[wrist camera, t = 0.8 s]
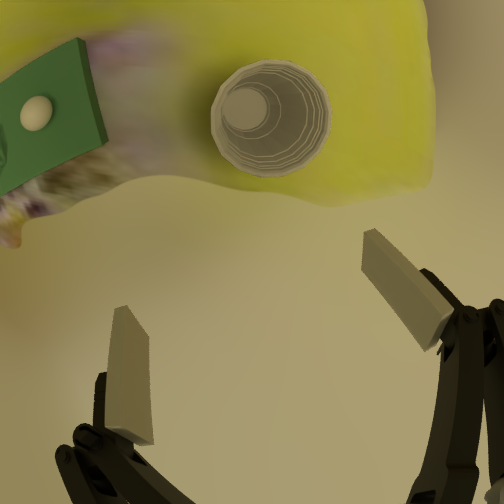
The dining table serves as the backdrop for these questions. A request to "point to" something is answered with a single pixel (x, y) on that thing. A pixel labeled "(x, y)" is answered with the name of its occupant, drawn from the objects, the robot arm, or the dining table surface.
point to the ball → (36, 113)
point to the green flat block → (61, 122)
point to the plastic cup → (271, 118)
